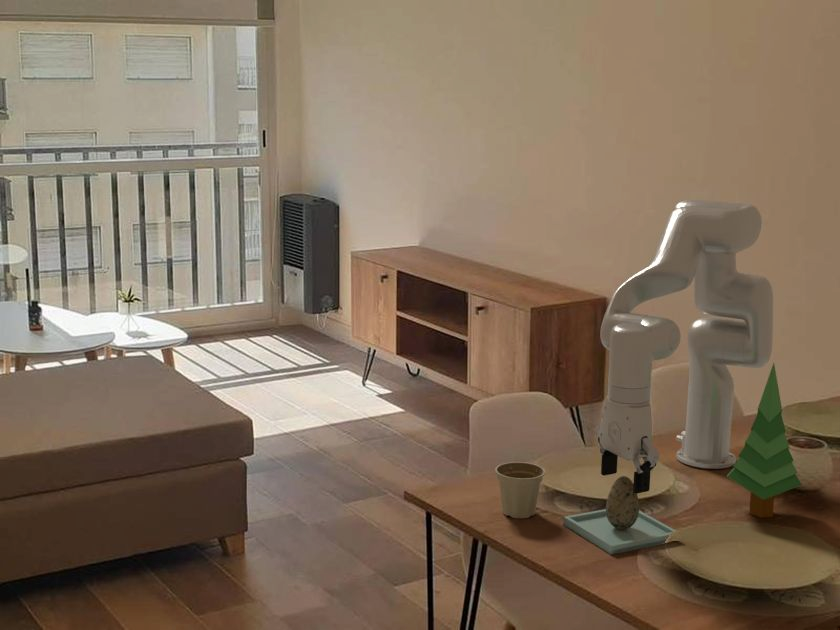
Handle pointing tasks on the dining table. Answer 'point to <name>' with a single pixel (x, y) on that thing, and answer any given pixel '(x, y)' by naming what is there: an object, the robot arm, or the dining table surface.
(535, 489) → the flower pot
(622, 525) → the decorative egg
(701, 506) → the dining table surface
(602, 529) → the teal dish
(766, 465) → the decorative tree
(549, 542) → the dining table surface
